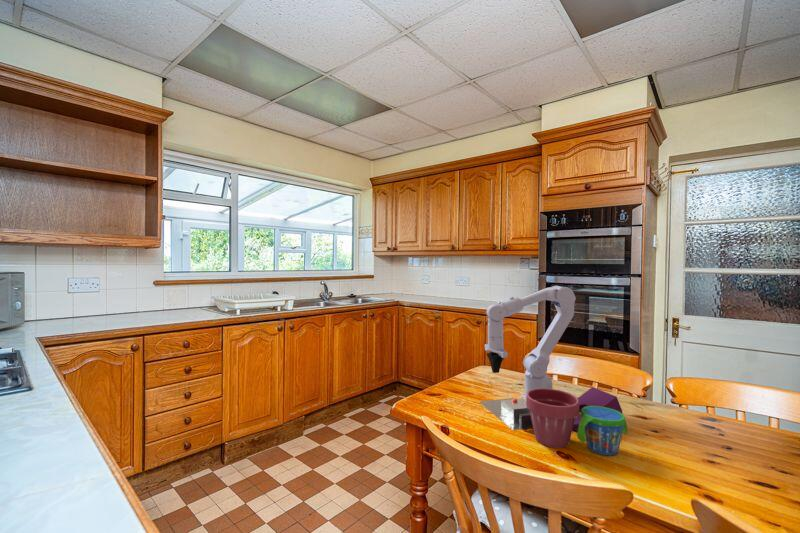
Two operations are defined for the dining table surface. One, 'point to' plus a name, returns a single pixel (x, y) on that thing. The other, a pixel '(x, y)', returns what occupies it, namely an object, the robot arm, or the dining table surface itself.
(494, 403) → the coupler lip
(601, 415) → the snack cup
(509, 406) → the block
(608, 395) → the mounting bracket
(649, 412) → the dining table surface
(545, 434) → the plant pot
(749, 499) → the dining table surface
